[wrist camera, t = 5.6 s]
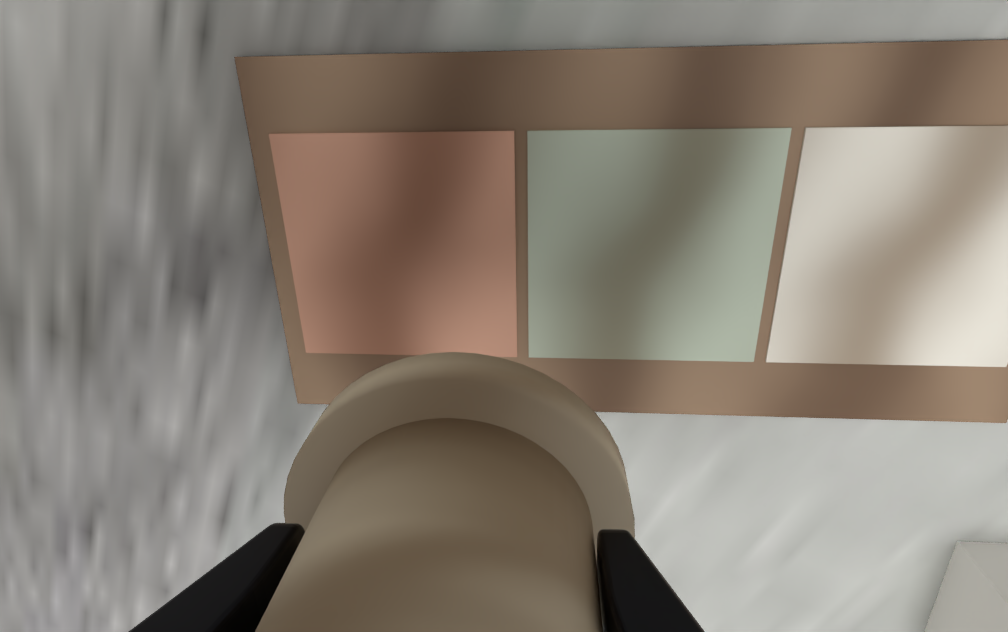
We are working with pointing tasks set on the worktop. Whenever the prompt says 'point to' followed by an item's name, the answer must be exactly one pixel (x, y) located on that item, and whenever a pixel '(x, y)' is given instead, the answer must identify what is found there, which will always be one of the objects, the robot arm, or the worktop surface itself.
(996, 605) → the die
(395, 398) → the pawn
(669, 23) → the worktop surface
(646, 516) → the worktop surface
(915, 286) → the board
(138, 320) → the worktop surface
